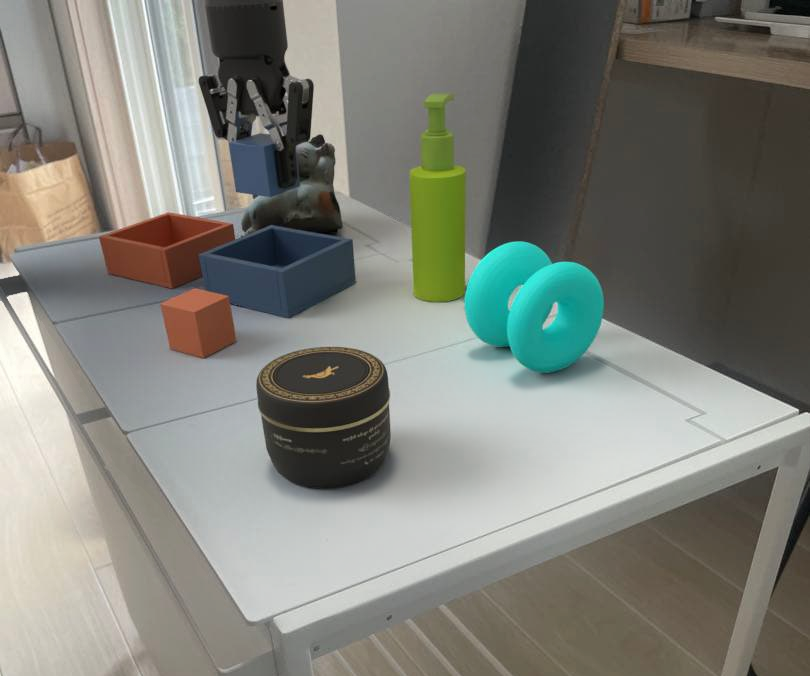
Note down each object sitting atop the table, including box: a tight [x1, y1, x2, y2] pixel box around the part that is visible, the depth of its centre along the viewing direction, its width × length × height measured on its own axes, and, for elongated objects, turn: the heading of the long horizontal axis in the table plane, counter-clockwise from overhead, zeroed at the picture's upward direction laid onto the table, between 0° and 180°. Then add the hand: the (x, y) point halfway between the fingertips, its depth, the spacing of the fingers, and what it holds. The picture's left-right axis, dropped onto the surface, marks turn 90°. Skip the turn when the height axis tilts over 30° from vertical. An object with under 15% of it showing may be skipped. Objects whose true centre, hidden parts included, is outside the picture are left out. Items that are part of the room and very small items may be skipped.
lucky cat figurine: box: [240, 133, 344, 238], centre depth 112 cm, size 15×12×14 cm
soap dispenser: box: [409, 93, 467, 303], centre depth 90 cm, size 6×7×20 cm
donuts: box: [464, 241, 605, 374], centre depth 78 cm, size 10×10×10 cm
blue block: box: [228, 132, 300, 197], centre depth 90 cm, size 5×5×5 cm
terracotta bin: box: [98, 211, 237, 289], centre depth 105 cm, size 12×12×5 cm
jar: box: [255, 346, 392, 489], centre depth 65 cm, size 10×10×8 cm
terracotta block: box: [160, 287, 237, 359], centre depth 85 cm, size 5×5×5 cm
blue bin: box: [199, 225, 357, 319], centre depth 97 cm, size 12×12×5 cm
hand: (267, 183), depth 91 cm, fingers closed on blue block, 5 cm apart
